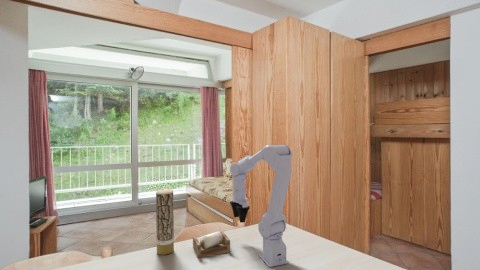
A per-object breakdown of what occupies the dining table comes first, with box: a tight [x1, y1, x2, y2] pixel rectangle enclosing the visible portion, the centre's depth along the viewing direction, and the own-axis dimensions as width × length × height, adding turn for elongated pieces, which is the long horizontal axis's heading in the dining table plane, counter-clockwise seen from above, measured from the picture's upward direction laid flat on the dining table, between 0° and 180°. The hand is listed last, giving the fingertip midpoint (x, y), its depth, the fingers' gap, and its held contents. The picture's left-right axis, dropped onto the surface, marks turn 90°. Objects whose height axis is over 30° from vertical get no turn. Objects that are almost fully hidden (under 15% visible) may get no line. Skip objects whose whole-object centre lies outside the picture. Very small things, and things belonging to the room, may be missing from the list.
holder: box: [192, 231, 231, 259], centre depth 108 cm, size 10×13×5 cm
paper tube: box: [155, 188, 175, 256], centre depth 107 cm, size 7×7×25 cm
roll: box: [199, 231, 223, 249], centre depth 108 cm, size 5×8×5 cm, turn 131°
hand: (239, 219), depth 116 cm, fingers open, 7 cm apart
